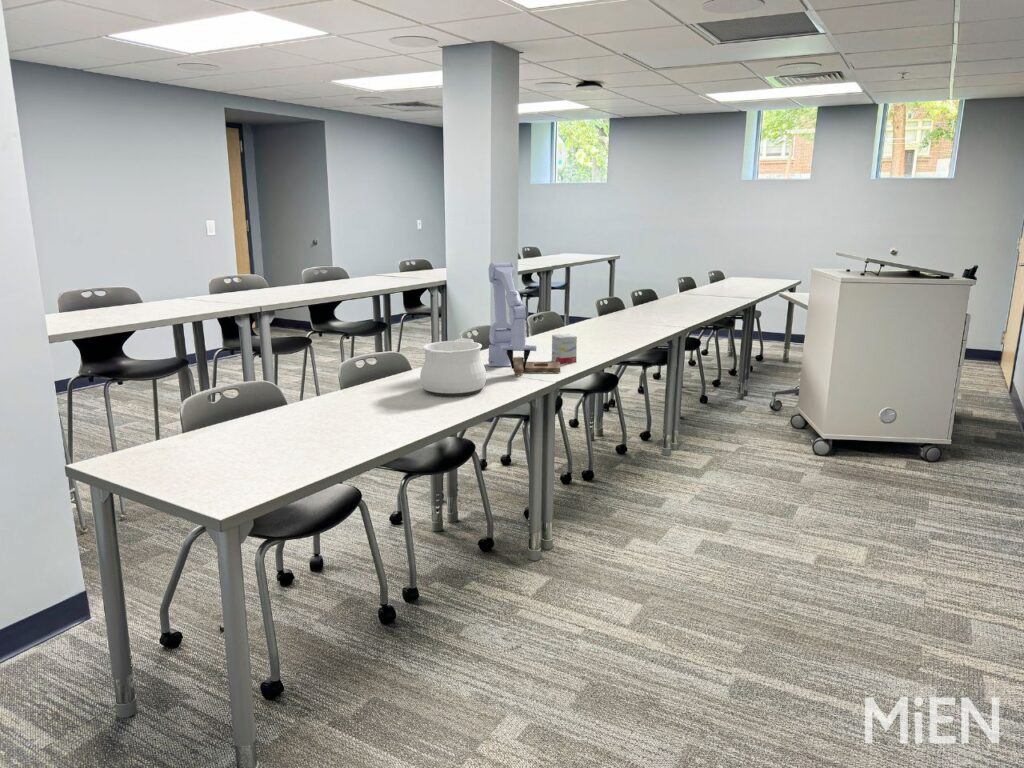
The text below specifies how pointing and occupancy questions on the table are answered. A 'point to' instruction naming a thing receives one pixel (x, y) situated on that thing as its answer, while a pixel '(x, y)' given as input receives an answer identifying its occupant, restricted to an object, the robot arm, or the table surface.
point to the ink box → (564, 348)
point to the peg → (518, 365)
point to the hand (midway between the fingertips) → (518, 368)
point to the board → (542, 367)
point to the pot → (453, 368)
